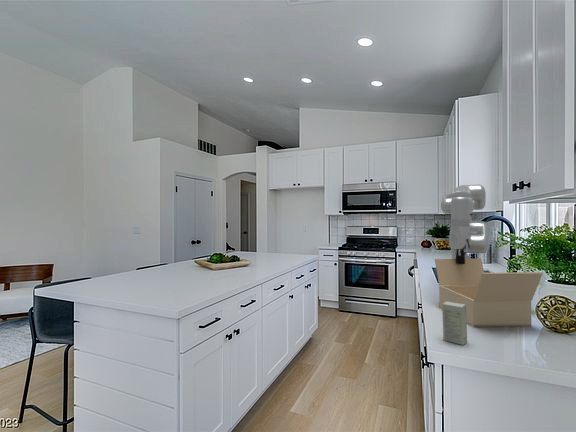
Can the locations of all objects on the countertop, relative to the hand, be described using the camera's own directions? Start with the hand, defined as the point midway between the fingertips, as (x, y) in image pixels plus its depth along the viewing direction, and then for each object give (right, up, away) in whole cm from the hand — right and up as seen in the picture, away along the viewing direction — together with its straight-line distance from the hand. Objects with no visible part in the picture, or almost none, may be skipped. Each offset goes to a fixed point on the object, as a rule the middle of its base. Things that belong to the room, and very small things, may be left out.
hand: (460, 263), depth 138 cm
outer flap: (+1, -4, -28) cm, 29 cm away
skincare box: (-24, -20, -39) cm, 49 cm away
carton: (+1, -19, -14) cm, 24 cm away
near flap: (0, -4, 0) cm, 4 cm away
